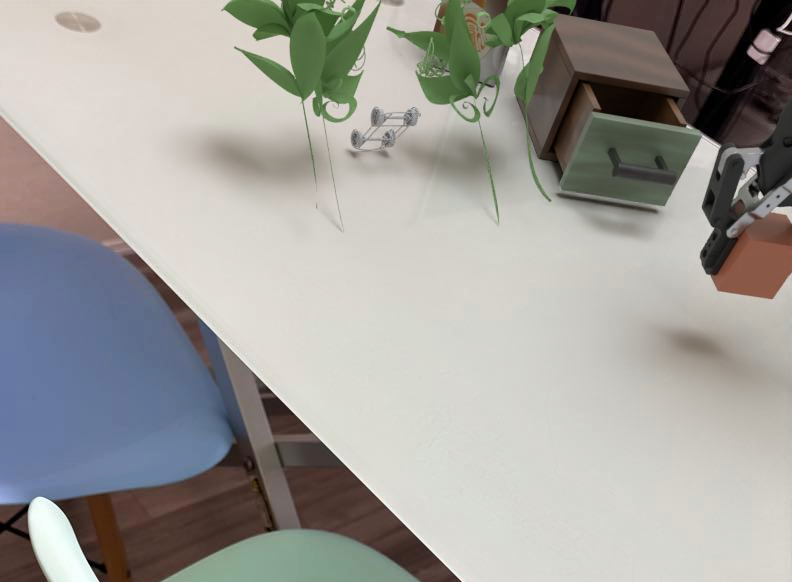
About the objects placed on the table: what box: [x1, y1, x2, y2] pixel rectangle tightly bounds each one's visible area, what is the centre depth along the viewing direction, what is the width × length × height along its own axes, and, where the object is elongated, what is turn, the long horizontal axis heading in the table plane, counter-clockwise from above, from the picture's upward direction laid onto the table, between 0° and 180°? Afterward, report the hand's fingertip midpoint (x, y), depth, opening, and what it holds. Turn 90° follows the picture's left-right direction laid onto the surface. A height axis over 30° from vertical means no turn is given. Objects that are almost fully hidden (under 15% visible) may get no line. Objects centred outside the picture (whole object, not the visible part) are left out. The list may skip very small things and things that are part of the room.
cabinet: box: [515, 13, 691, 163], centre depth 108 cm, size 15×13×10 cm
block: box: [709, 211, 792, 300], centre depth 82 cm, size 5×5×5 cm
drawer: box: [552, 79, 703, 207], centre depth 102 cm, size 18×11×8 cm, turn 0°
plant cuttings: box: [220, 0, 577, 231], centre depth 93 cm, size 35×17×22 cm
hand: (739, 273), depth 83 cm, fingers closed on block, 5 cm apart
